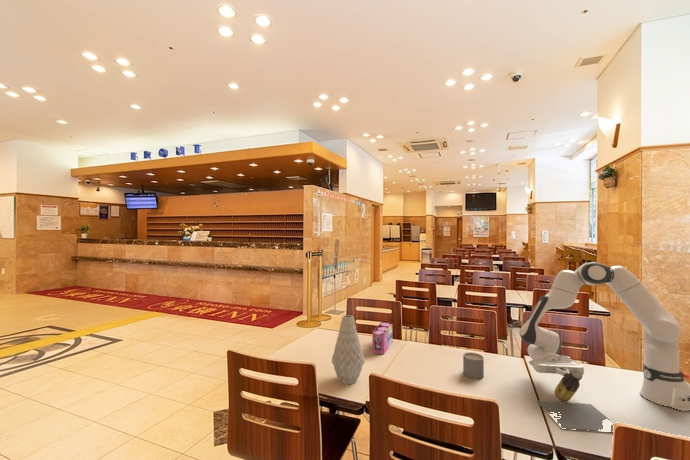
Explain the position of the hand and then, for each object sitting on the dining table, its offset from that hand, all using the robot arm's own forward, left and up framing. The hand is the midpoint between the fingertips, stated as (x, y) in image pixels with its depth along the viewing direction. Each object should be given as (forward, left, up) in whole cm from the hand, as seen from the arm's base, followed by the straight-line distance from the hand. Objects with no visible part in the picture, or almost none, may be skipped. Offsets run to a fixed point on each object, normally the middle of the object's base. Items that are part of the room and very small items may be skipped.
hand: (567, 374), depth 135 cm
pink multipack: (+80, -57, -14) cm, 100 cm away
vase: (+98, -11, -14) cm, 99 cm away
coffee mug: (+32, -26, -14) cm, 43 cm away
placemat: (+1, +8, -13) cm, 16 cm away
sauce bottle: (0, -5, -12) cm, 13 cm away
